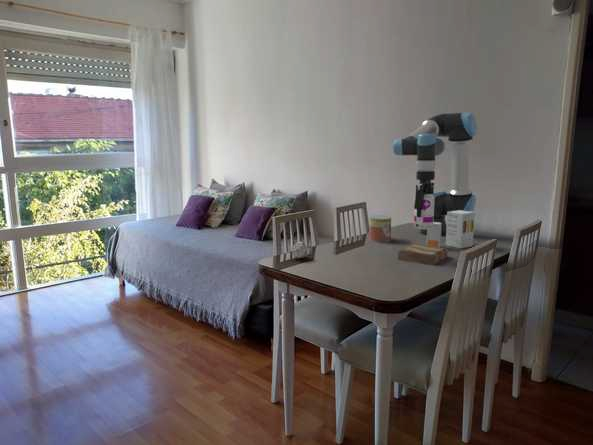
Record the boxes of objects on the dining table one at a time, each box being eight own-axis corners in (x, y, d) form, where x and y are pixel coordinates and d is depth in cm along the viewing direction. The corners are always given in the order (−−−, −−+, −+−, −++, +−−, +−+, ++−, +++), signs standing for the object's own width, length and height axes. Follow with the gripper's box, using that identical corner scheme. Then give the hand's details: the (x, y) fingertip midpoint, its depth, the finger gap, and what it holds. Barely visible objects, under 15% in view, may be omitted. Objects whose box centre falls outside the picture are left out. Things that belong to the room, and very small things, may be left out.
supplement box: (460, 248, 215) (462, 213, 212) (445, 245, 223) (446, 211, 220) (473, 246, 220) (475, 211, 217) (457, 242, 228) (459, 209, 225)
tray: (413, 251, 211) (413, 243, 210) (447, 256, 201) (447, 248, 200) (397, 259, 199) (398, 250, 198) (433, 264, 189) (433, 255, 188)
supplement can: (430, 230, 192) (431, 195, 189) (411, 228, 196) (412, 194, 193) (435, 227, 199) (437, 193, 196) (417, 225, 203) (418, 192, 200)
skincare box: (426, 247, 219) (427, 223, 217) (428, 245, 222) (428, 221, 220) (439, 248, 216) (440, 224, 214) (440, 246, 220) (441, 222, 217)
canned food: (381, 243, 229) (381, 219, 227) (364, 239, 238) (364, 217, 236) (395, 239, 236) (396, 217, 234) (378, 236, 245) (379, 214, 243)
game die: (299, 265, 205) (302, 245, 210) (311, 262, 199) (314, 241, 203) (284, 258, 200) (287, 238, 205) (296, 255, 194) (300, 234, 199)
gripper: (427, 168, 203) (425, 218, 207) (406, 171, 187) (405, 225, 191) (443, 169, 199) (441, 220, 203) (424, 172, 182) (422, 227, 187)
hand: (423, 222), depth 197 cm, fingers closed on supplement can, 8 cm apart
